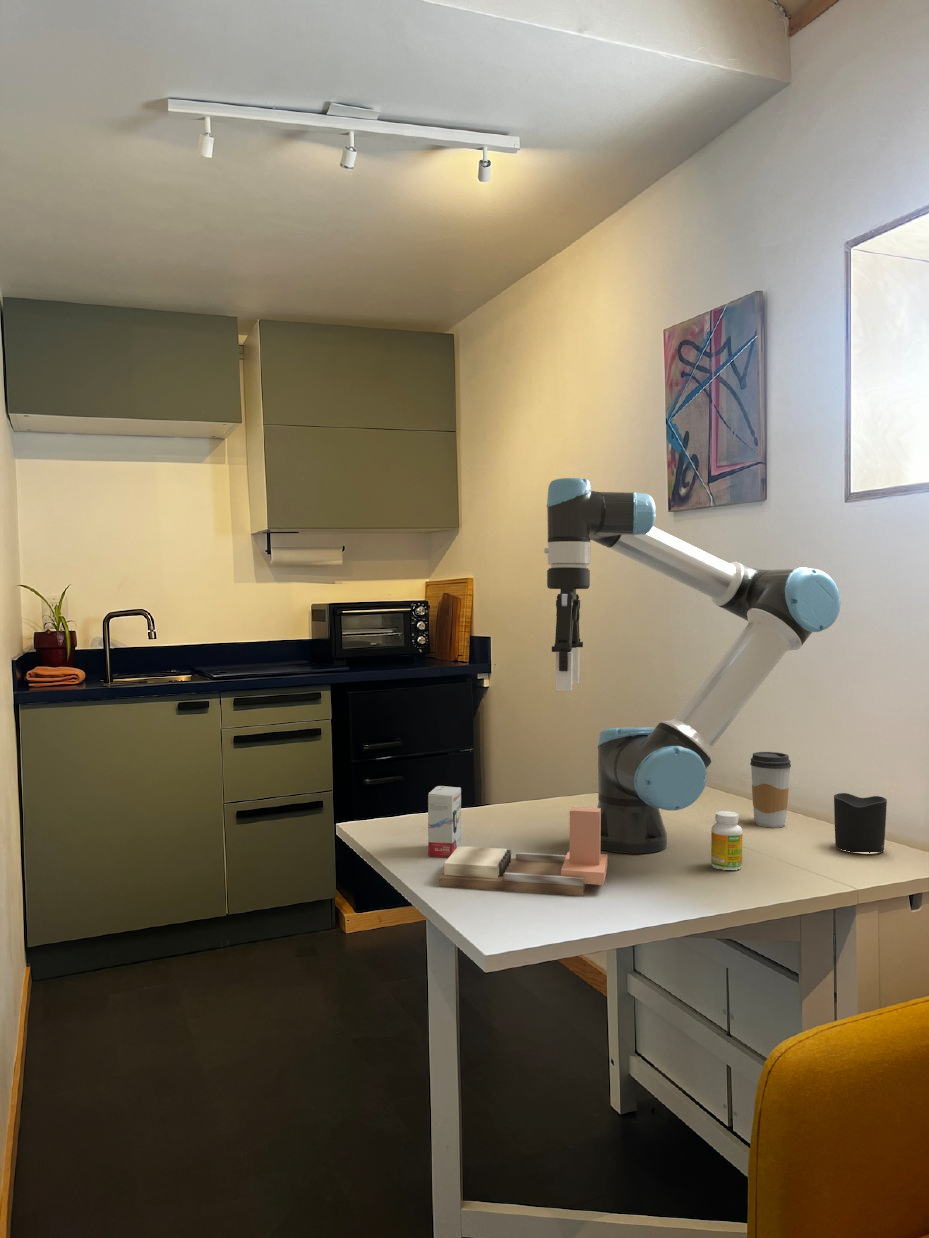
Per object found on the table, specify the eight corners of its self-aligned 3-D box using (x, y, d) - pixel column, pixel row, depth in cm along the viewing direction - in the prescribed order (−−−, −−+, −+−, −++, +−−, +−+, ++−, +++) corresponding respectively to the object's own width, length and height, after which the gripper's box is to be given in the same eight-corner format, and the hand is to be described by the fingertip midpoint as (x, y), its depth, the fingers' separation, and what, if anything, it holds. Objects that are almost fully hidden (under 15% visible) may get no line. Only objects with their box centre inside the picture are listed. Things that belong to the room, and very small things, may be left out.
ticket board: (589, 871, 165) (589, 850, 165) (582, 895, 152) (582, 873, 152) (457, 862, 170) (457, 842, 170) (439, 886, 157) (439, 864, 157)
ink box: (452, 858, 173) (452, 795, 173) (426, 856, 174) (427, 794, 174) (461, 846, 182) (462, 786, 181) (437, 844, 183) (437, 784, 182)
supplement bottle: (729, 873, 164) (729, 818, 164) (704, 866, 169) (705, 812, 169) (748, 867, 168) (748, 814, 167) (723, 861, 172) (724, 808, 172)
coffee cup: (794, 822, 201) (795, 753, 201) (785, 831, 194) (785, 759, 194) (755, 817, 205) (756, 750, 205) (744, 825, 198) (745, 755, 198)
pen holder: (859, 857, 174) (860, 804, 174) (822, 845, 183) (823, 794, 183) (897, 852, 178) (898, 800, 178) (859, 840, 186) (860, 791, 186)
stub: (607, 865, 163) (608, 803, 163) (603, 884, 152) (604, 817, 152) (567, 863, 165) (567, 801, 164) (561, 881, 154) (561, 815, 154)
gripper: (555, 568, 178) (554, 679, 178) (538, 564, 153) (537, 693, 154) (594, 568, 176) (594, 680, 177) (583, 564, 152) (583, 694, 152)
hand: (567, 686), depth 165 cm, fingers open, 13 cm apart
